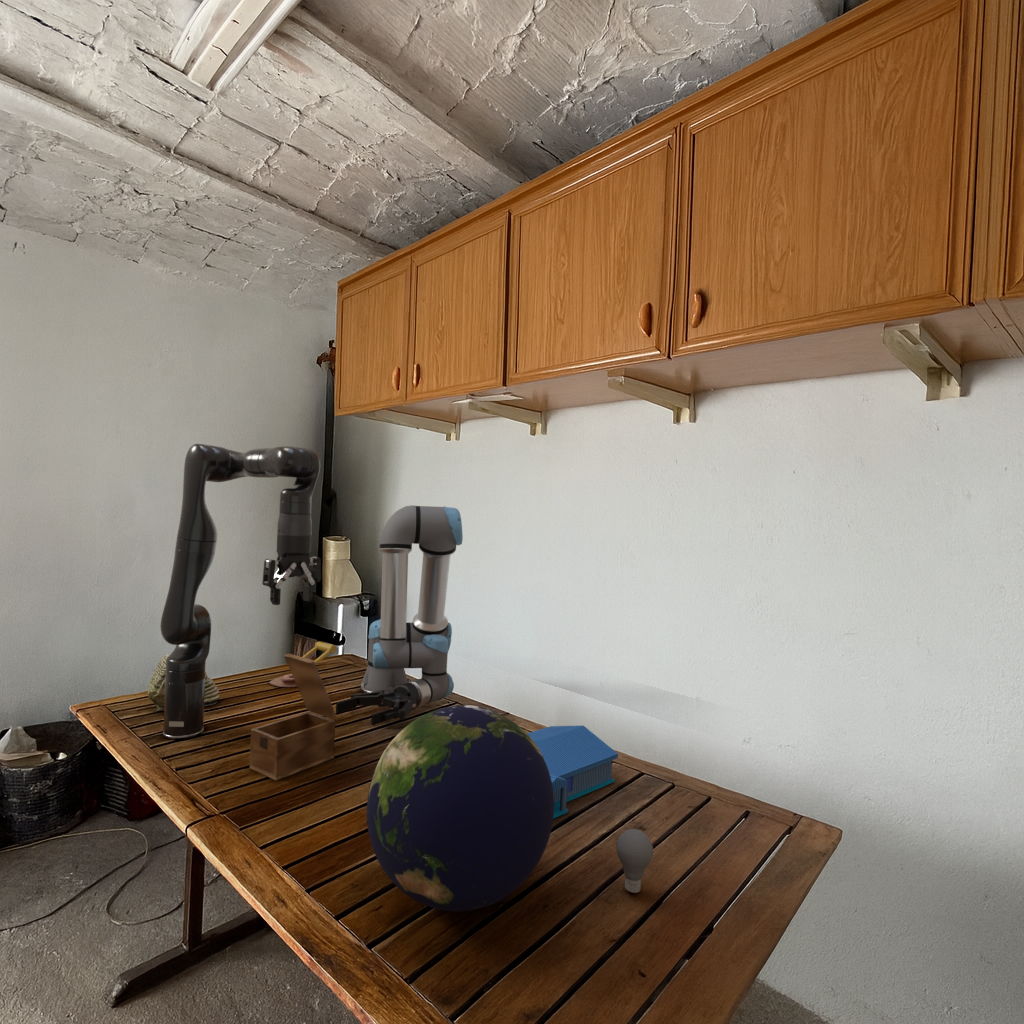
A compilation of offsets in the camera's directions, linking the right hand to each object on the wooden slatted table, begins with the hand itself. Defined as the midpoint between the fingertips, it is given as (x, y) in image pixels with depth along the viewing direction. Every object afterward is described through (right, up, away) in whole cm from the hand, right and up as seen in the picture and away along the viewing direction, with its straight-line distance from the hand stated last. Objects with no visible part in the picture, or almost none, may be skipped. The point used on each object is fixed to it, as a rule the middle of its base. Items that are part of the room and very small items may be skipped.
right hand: (354, 714), depth 165 cm
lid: (-8, +10, -12) cm, 18 cm away
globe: (+32, -9, -62) cm, 71 cm away
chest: (-11, -7, -15) cm, 20 cm away
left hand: (-10, +32, -18) cm, 38 cm away
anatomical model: (-32, -5, +47) cm, 57 cm away
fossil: (-55, -4, +20) cm, 58 cm away
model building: (+45, -9, -25) cm, 52 cm away
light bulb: (+61, -11, -59) cm, 86 cm away
